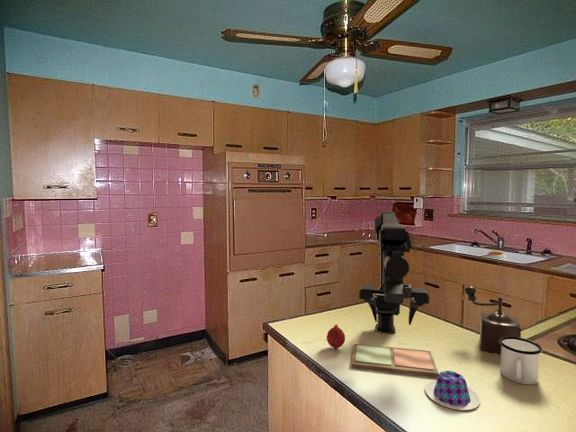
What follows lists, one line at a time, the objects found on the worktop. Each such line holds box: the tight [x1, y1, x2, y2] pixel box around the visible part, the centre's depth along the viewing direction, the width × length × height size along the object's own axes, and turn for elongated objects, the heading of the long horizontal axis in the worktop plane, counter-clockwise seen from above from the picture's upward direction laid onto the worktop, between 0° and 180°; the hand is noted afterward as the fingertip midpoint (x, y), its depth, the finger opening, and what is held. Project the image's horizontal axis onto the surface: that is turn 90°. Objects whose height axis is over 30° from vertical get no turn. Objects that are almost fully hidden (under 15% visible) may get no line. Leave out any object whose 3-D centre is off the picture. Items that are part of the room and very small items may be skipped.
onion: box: [326, 323, 346, 350], centre depth 105 cm, size 6×6×8 cm
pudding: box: [424, 370, 481, 411], centre depth 81 cm, size 12×12×5 cm
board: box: [351, 343, 440, 379], centre depth 97 cm, size 13×23×2 cm, turn 76°
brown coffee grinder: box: [463, 285, 522, 356], centre depth 106 cm, size 16×11×18 cm
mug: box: [499, 336, 543, 385], centre depth 87 cm, size 12×10×9 cm
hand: (392, 323), depth 95 cm, fingers open, 9 cm apart
